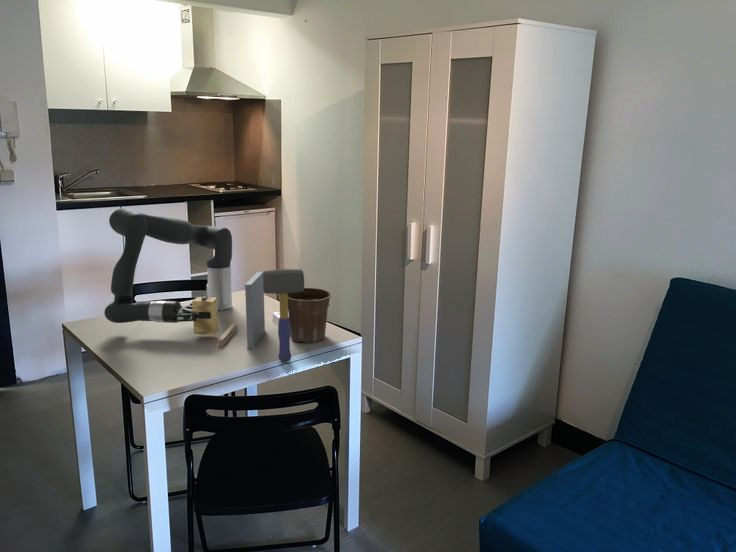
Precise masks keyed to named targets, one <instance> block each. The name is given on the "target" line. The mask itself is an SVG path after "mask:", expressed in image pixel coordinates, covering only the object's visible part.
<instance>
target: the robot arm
mask: <svg viewBox="0 0 736 552" xmlns="http://www.w3.org/2000/svg"><path fill="white" fill-rule="evenodd" d="M108 222H109V226H110V228H111V229H112V230H113V231H114V232H115V233H116V234H119V235H121V236H123V237H124V249H123V252H122V255H121V256H120V257H119V259H118V260H117V262H116V263H115V266H114V268H113V270H112V276H111V283H110V292H111V293H112V295H113V296H114V299H113V301H112V302H111V303H109V304H108V305H107V306H106V307H105V309H104V311H103V313H104V316H105V319H107V320H108V321H109V322H111V323H114V324H125V323H126V324H127V323H133V322H153V323H154V322H155V323H167V324H168V323H169V324H170V323H174V324H175V323H176V324H177V323H181V322H182V323H183V322H186V323H187V322H194V321H196V319H197V320H198V319H199V318H200V319H210V318H211V313H210V312H194V311H193V305H192V302H190V303H189V305H188V304H187V305H186V304H185V305H184V306H182V304H181V303H180V301H176V300H174V301H173V300H154V301H153V300H151V301H150V300H149V301H148V300H141V301H137V302H134V296H133V289H134V288H133V287H134V281H135V275H136V274H135V273H136V268H137V263H138V260H139V258H140V253H141V251H142V247H143V244H144V241H145V237H146V236H147V237H149V238H152V239H155V240H157V241H161V242H165V243H168V244H175V245H188V244H189V245H191V244H192V245H197V246H200V247H203V248H206V249H209V250H213V251H214V255H213V257H209V258H207V260H206V272H207V274H206V275H207V284H206V285H205V286H206V296H208V297H216V298H217V311H223V310H228V309H229V310H230V309H231V308H232V307H233V295H232V293H233V291H232V271H231V269H232V268H231V262H232V259H233V236H232V233H231V231H230V229H228V228H227V227H224V226H215V225H214V226H213V225H196V224H194V223H191V222H190V221H187V220H185V219H180V218H176V217H168V216H160V215H153V214H152V215H151V214H147V213H146V214H145V213H142V212H139V211H136V210H133V209H131V208H127V207H120V208H118V209H115V210H114V211H113V212H112V213H111V214H110V216H109V221H108Z"/></svg>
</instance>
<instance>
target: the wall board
mask: <svg viewBox="0 0 736 552" xmlns="http://www.w3.org/2000/svg"><path fill="white" fill-rule="evenodd" d="M263 272H264V271H257V272H256V273H255V274H254V275H253V276H252V277H251V278H250V279H249V280H248V281H247V282H246V283H245V284H244V289H245V290H244V292H245V294H244V295H245V317H246V320H245V321H246V343H247V344H246V346H247V349H254V348H255V346H256V345H257V343H258V342H259V340H260V339H261V337H262V336H263V335H264V333H265V331H266V327H265V326H266V323H265V322H266V321H265V319H266V318H265V317H266V316H265V293H264V291H263ZM237 330H238V325H237V322H236V323H235V322H232V323H231V325H229V327H228V328H227V329H226V330H225V331H224V333H222V335H221V336H220V337H219V339H217V342H218V344H217V345H218V348H224V346H226V345H227V344H228V342H229V341H230V340H231V338H232V337H233V335H234V334H235V333H236V332H237Z"/></svg>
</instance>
